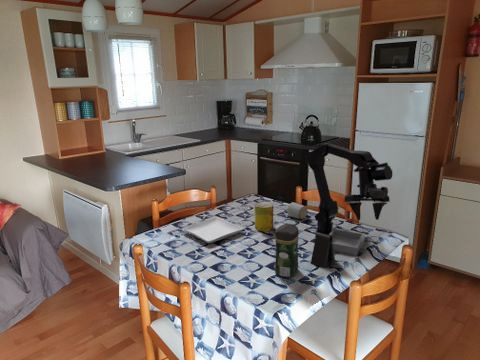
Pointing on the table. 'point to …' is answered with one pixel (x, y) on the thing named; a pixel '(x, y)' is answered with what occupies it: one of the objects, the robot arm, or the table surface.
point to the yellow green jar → (264, 216)
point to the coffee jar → (286, 250)
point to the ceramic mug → (297, 210)
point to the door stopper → (323, 250)
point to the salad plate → (213, 229)
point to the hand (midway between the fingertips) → (368, 219)
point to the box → (347, 241)
